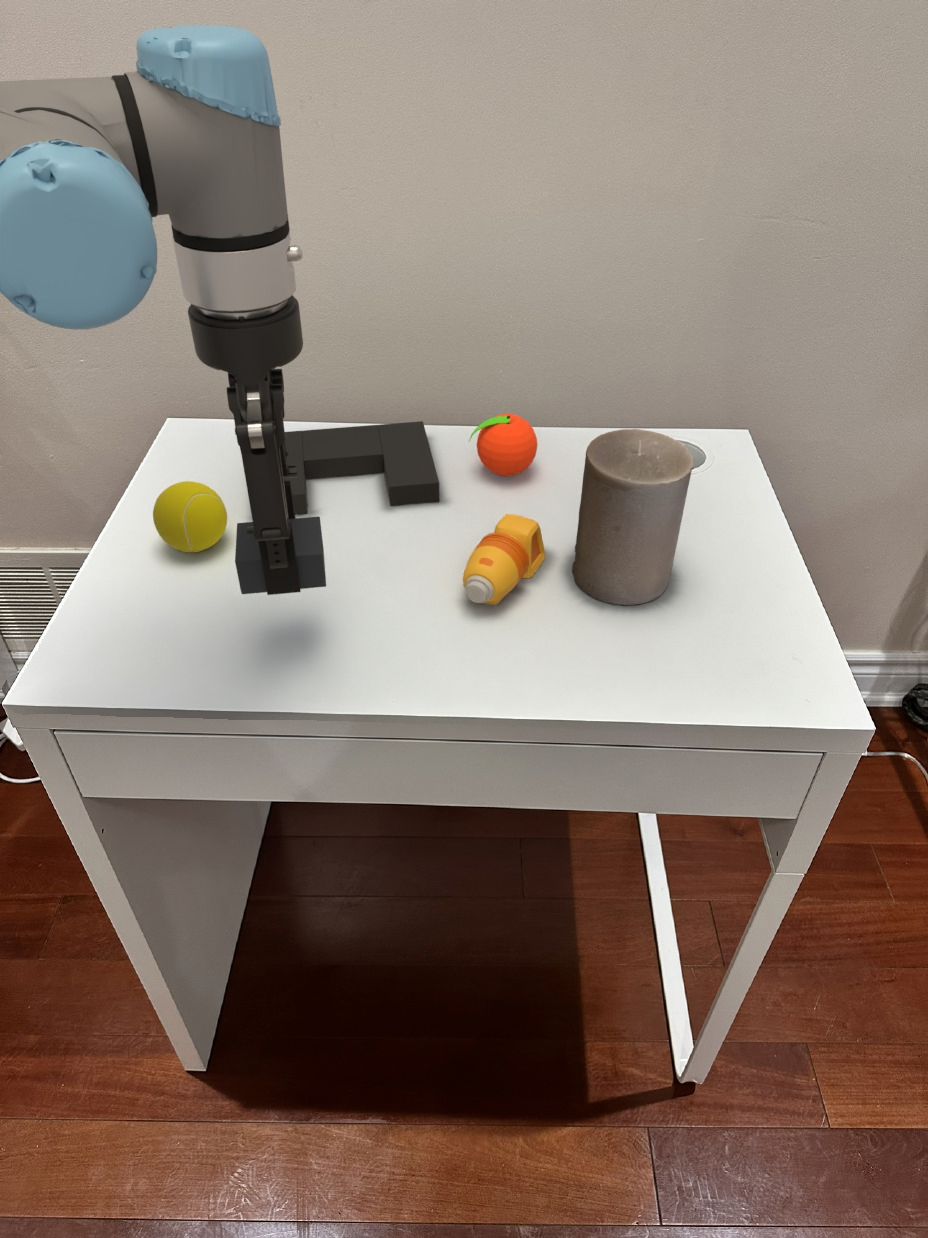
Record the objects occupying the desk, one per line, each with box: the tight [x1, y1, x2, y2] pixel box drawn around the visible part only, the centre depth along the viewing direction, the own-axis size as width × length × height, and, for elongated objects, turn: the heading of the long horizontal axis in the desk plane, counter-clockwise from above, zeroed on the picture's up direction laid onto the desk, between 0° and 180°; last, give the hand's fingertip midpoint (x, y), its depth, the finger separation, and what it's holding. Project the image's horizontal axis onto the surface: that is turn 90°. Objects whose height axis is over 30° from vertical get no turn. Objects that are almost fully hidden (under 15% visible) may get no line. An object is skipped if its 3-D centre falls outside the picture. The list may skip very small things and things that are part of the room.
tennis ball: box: [152, 480, 228, 553], centre depth 89 cm, size 7×7×7 cm
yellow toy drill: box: [462, 513, 546, 606], centre depth 85 cm, size 5×6×12 cm
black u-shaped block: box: [284, 420, 440, 515], centre depth 101 cm, size 20×14×2 cm
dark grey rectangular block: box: [234, 516, 327, 595], centre depth 74 cm, size 7×6×4 cm
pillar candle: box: [571, 428, 695, 606], centre depth 83 cm, size 10×10×15 cm
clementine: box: [468, 413, 538, 477], centre depth 100 cm, size 8×7×7 cm
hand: (283, 568), depth 75 cm, fingers closed on dark grey rectangular block, 5 cm apart
